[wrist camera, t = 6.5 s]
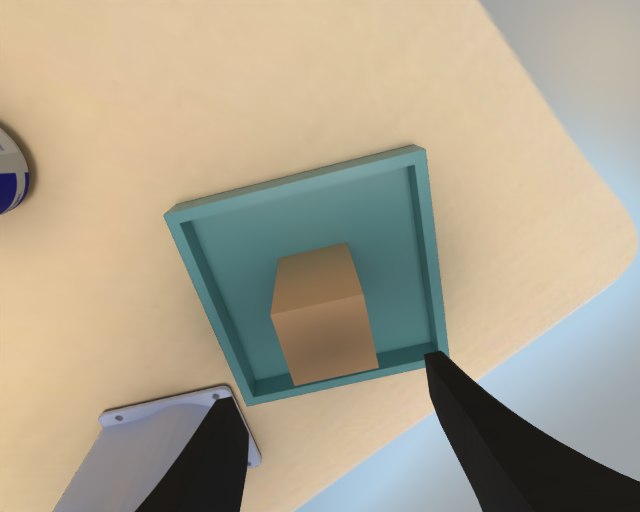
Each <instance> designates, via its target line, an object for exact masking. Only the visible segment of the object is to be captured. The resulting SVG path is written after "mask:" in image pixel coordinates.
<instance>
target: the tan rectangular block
mask: <svg viewBox="0 0 640 512" xmlns="http://www.w3.org/2000/svg"><path fill="white" fill-rule="evenodd" d="M270 316H271V319H272V321H273V324H274V327H275V330H276V333H277V336H278V339H279V342H280V345H281V348H282V351H283V354H284V356H285V359H286V362H287V365H288V368H289V371H290V374H291V377H292V380H293V383H294V386H297V385H301V384H306V383H311V382H315V381H320V380H324V379H329V378H334V377H338V376H343V375H348V374H352V373H357V372H362V371H366V370H371V369H376V368H379V366H378V361H377V356H376V352H375V347H374V342H373V337H372V333H371V328H370V323H369V318H368V314H367V309H366V304H365V299H364V295H363V291H362V288H361V285H360V282H359V279H358V276H357V273H356V269H355V266H354V263H353V260H352V257H351V254H350V251H349V248H348V244H347V242H345V243H341V244H336V245H332V246H328V247H324V248H319V249H315V250H311V251H306V252H302V253H298V254H294V255H289V256H285V257H281V258H279V261H278V268H277V274H276V281H275V287H274V294H273V301H272V307H271V314H270Z"/></svg>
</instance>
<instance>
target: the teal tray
mask: <svg viewBox="0 0 640 512" xmlns="http://www.w3.org/2000/svg"><path fill="white" fill-rule="evenodd" d="M163 216H164V218H165V221H166V223H167V225H168V227H169V230H170V232H171V234H172V237H173V239H174V241H175V243H176V246H177V248H178V250H179V252H180V255H181V257H182V259H183V262H184V264H185V266H186V268H187V271H188V273H189V275H190V278H191V280H192V282H193V284H194V287H195V289H196V291H197V294H198V296H199V298H200V300H201V303H202V305H203V307H204V310H205V312H206V314H207V316H208V319H209V321H210V323H211V325H212V328H213V330H214V332H215V335H216V337H217V339H218V341H219V344H220V346H221V348H222V351H223V353H224V355H225V357H226V360H227V362H228V364H229V367H230V369H231V371H232V373H233V376H234V378H235V380H236V383H237V385H238V387H239V389H240V392H241V394H242V396H243V399H244V401H245V403H246V405H247V406H252V405H256V404H261V403H265V402H270V401H275V400H279V399H284V398H288V397H293V396H297V395H302V394H307V393H311V392H316V391H320V390H325V389H329V388H334V387H338V386H343V385H348V384H352V383H357V382H361V381H366V380H370V379H375V378H379V377H384V376H389V375H393V374H398V373H402V372H407V371H411V370H416V369H420V368H425V367H426V366H425V359H424V354H427V353H431V352H436V351H440V350H441V351H442V352H444V353H445V354H446V355H447V356H448V357H449V349H448V340H447V331H446V322H445V314H444V305H443V296H442V288H441V279H440V270H439V262H438V253H437V244H436V235H435V227H434V218H433V209H432V201H431V192H430V183H429V174H428V166H427V157H426V149H424V148H422V147H419V146H416V145H409V146H406V147H402V148H398V149H394V150H390V151H386V152H382V153H378V154H374V155H370V156H366V157H362V158H358V159H354V160H350V161H346V162H342V163H338V164H334V165H330V166H326V167H322V168H319V169H315V170H311V171H307V172H303V173H299V174H295V175H291V176H287V177H283V178H279V179H275V180H271V181H267V182H263V183H259V184H255V185H251V186H247V187H243V188H239V189H235V190H231V191H228V192H224V193H220V194H216V195H212V196H208V197H204V198H200V199H196V200H192V201H188V202H184V203H180V204H176V205H175V206H174V207H172V208H171V209H170V210H169V211H167V212H166V213H165V214H164V215H163ZM345 242H347V244H348V248H349V251H350V254H351V257H352V260H353V263H354V266H355V269H356V273H357V276H358V279H359V282H360V285H361V288H362V291H363V295H364V299H365V304H366V309H367V314H368V318H369V323H370V328H371V333H372V337H373V342H374V347H375V352H376V356H377V361H378V366H379V368H376V369H371V370H366V371H362V372H357V373H352V374H348V375H343V376H338V377H334V378H329V379H324V380H320V381H315V382H311V383H306V384H301V385H297V386H294V383H293V380H292V377H291V374H290V371H289V368H288V365H287V362H286V359H285V356H284V354H283V351H282V348H281V345H280V342H279V339H278V336H277V333H276V330H275V327H274V324H273V321H272V319H271V316H270V314H271V307H272V301H273V294H274V287H275V281H276V274H277V268H278V261H279V258H281V257H285V256H289V255H294V254H298V253H302V252H306V251H311V250H315V249H319V248H324V247H328V246H332V245H336V244H341V243H345ZM449 358H450V357H449Z"/></svg>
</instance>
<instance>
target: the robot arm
mask: <svg viewBox="0 0 640 512" xmlns="http://www.w3.org/2000/svg"><path fill="white" fill-rule="evenodd" d="M424 359H425V366H426V373H427V379H428V386H429V393H430V397H431V400H432V403H433V405H434V408H435V411H436V414H437V416H438V419H439V421H440V424H441V426H442V428H443V430H444V432H445V434H446V436H447V438H448V440H449V442H450V444H451V446H452V448H453V450H454V452H455V454H456V456H457V458H458V460H459V462H460V464H461V466H462V468H463V470H464V472H465V474H466V476H467V478H468V480H469V482H470V484H471V486H472V488H473V490H474V492H475V494H476V497H477V499H478V501H479V503H480V506H481V508H482V511H483V512H640V482H639V481H637V480H634V479H632V478H630V477H628V476H625V475H623V474H620V473H619V472H616V471H614V470H612V469H610V468H608V467H606V466H604V465H602V464H600V463H598V462H596V461H594V460H592V459H590V458H588V457H586V456H584V455H583V454H581V453H579V452H577V451H576V450H574V449H572V448H570V447H568V446H566V445H564V444H563V443H561V442H559V441H557V440H556V439H554V438H552V437H551V436H549V435H548V434H546V433H544V432H543V431H541V430H539V429H538V428H536V427H535V426H533V425H532V424H530V423H528V422H527V421H526V420H524V419H523V418H521V417H520V416H518V415H517V414H515V413H514V412H512V411H511V410H510V409H509V408H507V407H506V406H504V405H503V404H502V403H501V402H499V401H498V400H497V399H495V398H494V397H493V396H491V395H490V394H489V393H488V392H486V391H485V390H484V389H483V388H482V387H481V386H479V385H478V384H477V383H476V382H475V381H474V380H472V379H471V378H470V377H469V376H468V375H467V374H466V373H465V372H463V371H462V370H461V369H460V368H459V367H458V366H457V365H456V364H455V363H454V362H453V361H452V360H451V359H450V358H449V357H448V356H447V355H446V354H445V353H444V352H442V351H441V350H440V351H436V352H431V353H427V354H424ZM214 394H218V395H214ZM119 415H120V416H119ZM98 420H99V423H100V424H101V425H102V427H103V430H102V431H101V433H100V435H99V436H98V438H97V440H96V441H95V443H94V444H93V446H92V448H91V449H90V451H89V453H88V454H87V456H86V458H85V459H84V461H83V462H82V464H81V466H80V467H79V469H78V471H77V472H76V474H75V476H74V477H73V479H72V480H71V482H70V484H69V485H68V487H67V489H66V490H65V492H64V493H63V495H62V497H61V498H60V500H59V502H58V503H57V505H56V507H55V508H54V510H53V512H240V507H241V501H242V495H243V490H244V484H245V478H246V472H247V468H251V467H256V466H259V465H260V464H261V456H260V454H259V451H258V449H257V447H256V445H255V442H254V440H253V438H252V436H251V434H250V431H249V429H248V427H247V425H246V423H245V420H244V418H243V416H242V414H241V411H240V409H239V407H238V405H237V403H236V400H235V398H234V396H233V394H232V392H231V390H230V388H229V387H227V386H219V387H215V388H210V389H206V390H201V391H197V392H192V393H188V394H183V395H179V396H174V397H170V398H165V399H161V400H156V401H152V402H147V403H143V404H138V405H134V406H129V407H125V408H121V409H116V410H112V411H107V412H104V413H102V414H101V415H100V417H99V419H98Z"/></svg>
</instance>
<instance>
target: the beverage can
mask: <svg viewBox="0 0 640 512" xmlns="http://www.w3.org/2000/svg"><path fill="white" fill-rule="evenodd" d="M28 186H29V171H28V167H27V164H26V161H25V158H24V156H23V154H22V152H21V151H20V149H19V148H18V146H17V145H16V143H15V142H14V141H13V140H12V139H11V138H10V137H9V135H8V134H7V133H6V132H5V131H3V130H2V129H1V128H0V215H1V214H4V213H6V212H8V211H10V210H12V209H13V208H15V207H16V206H17V205H19V204H20V203H21V201H22V200H23V199H24V197H25V195H26V193H27V190H28Z"/></svg>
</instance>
